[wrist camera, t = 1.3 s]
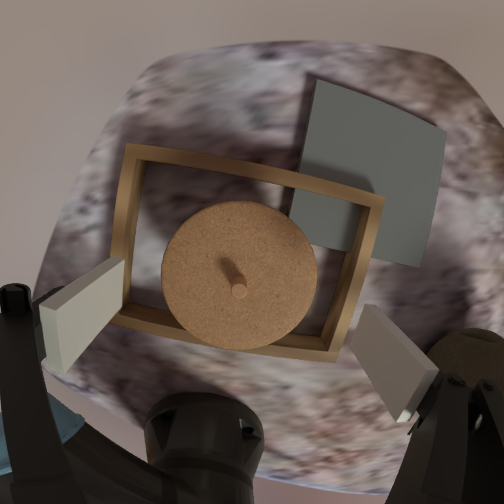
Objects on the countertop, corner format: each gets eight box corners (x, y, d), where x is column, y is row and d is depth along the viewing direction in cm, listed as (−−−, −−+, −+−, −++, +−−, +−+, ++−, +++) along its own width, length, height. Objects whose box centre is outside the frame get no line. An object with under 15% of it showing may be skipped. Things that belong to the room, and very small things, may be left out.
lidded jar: (259, 326, 29) (268, 384, 20) (162, 275, 27) (129, 317, 18) (318, 234, 27) (355, 258, 18) (216, 174, 25) (204, 168, 16)
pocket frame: (327, 347, 30) (335, 362, 27) (118, 310, 28) (107, 322, 25) (371, 195, 26) (385, 197, 23) (138, 146, 24) (126, 142, 21)
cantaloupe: (376, 383, 31) (429, 469, 17) (446, 292, 29) (532, 348, 14) (429, 407, 34) (475, 470, 19) (486, 334, 31) (549, 382, 17)
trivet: (413, 265, 28) (419, 268, 27) (282, 236, 27) (284, 238, 25) (439, 133, 25) (446, 132, 24) (314, 83, 24) (317, 79, 22)
